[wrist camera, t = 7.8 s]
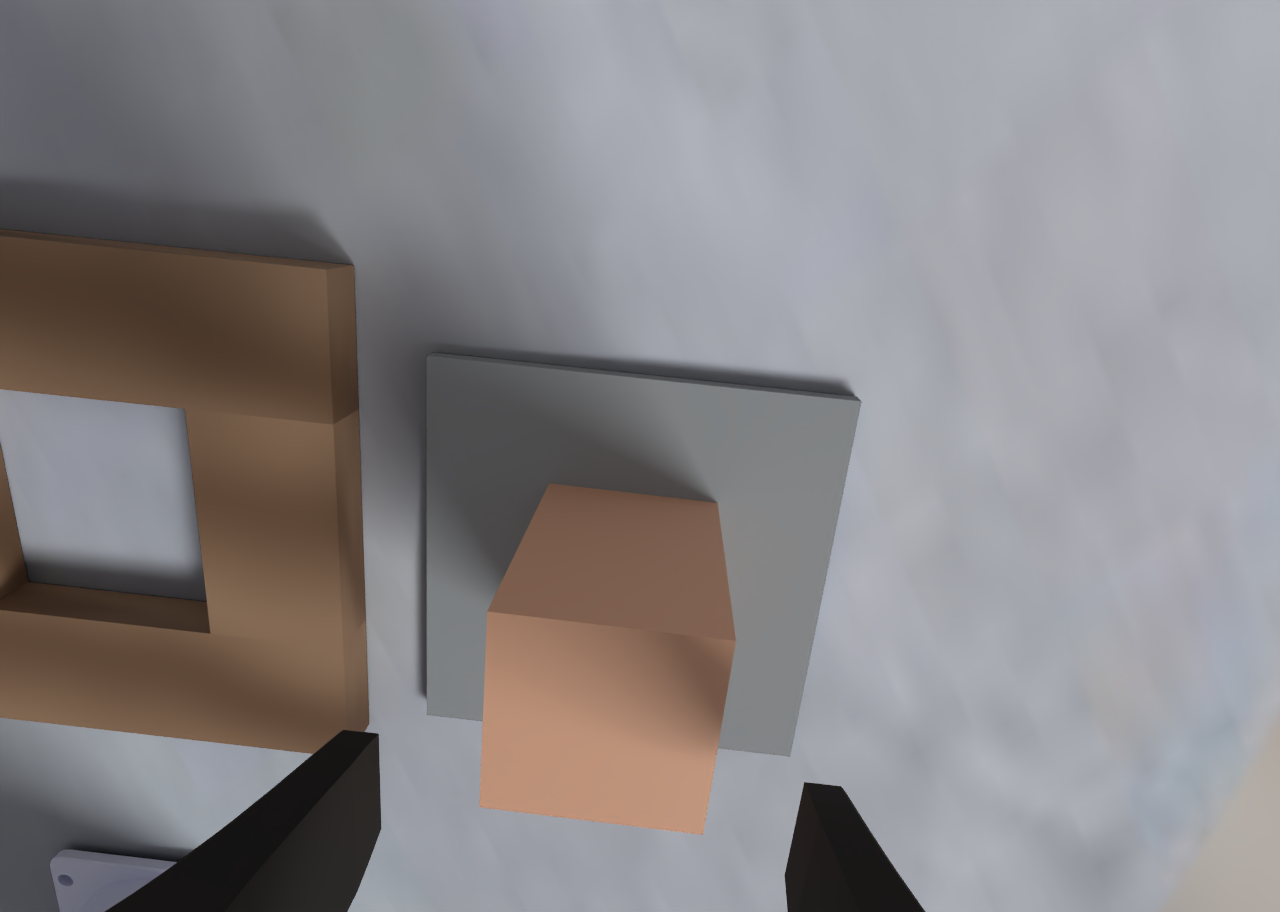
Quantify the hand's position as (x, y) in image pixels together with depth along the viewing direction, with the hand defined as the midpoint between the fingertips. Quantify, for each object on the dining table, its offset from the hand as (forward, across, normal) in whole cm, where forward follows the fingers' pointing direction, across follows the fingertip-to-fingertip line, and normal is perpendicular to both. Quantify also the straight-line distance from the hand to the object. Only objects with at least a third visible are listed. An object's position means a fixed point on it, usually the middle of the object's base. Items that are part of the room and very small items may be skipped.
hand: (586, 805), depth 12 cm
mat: (+9, 0, 0) cm, 9 cm away
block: (+8, 0, 0) cm, 8 cm away
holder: (+9, +14, 0) cm, 17 cm away
